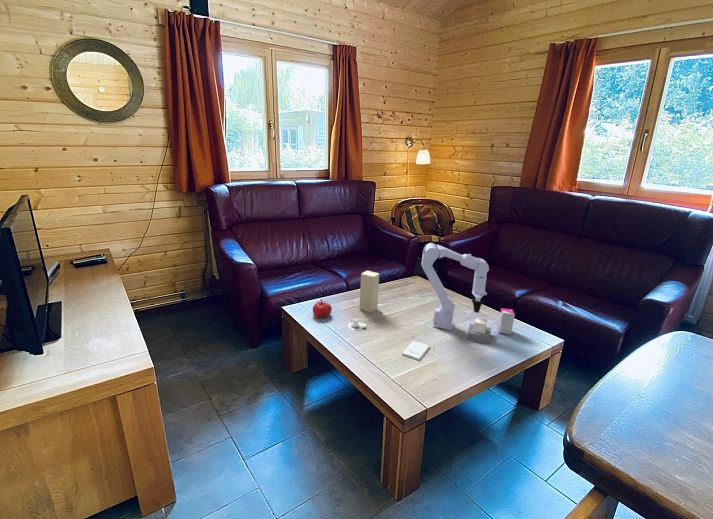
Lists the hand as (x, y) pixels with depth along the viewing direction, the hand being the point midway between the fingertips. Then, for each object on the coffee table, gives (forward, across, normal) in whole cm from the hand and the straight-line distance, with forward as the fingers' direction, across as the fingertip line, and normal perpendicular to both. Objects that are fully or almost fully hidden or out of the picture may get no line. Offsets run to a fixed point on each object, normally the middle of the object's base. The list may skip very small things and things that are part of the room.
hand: (476, 309), depth 191 cm
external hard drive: (+11, -33, +24) cm, 42 cm away
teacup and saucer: (+10, -23, +56) cm, 61 cm away
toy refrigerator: (+10, +2, +57) cm, 58 cm away
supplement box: (+11, +1, -14) cm, 18 cm away
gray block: (+11, -9, -2) cm, 14 cm away
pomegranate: (+9, -15, +78) cm, 80 cm away
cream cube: (+7, -9, -2) cm, 12 cm away
